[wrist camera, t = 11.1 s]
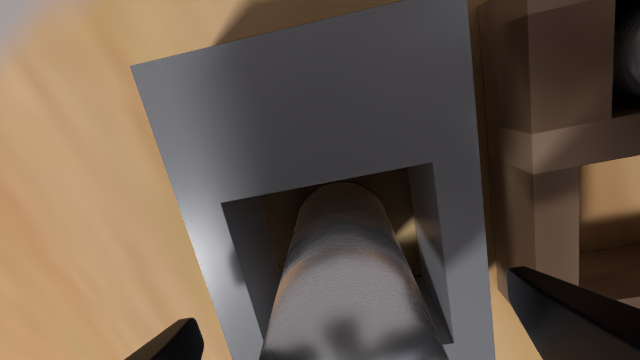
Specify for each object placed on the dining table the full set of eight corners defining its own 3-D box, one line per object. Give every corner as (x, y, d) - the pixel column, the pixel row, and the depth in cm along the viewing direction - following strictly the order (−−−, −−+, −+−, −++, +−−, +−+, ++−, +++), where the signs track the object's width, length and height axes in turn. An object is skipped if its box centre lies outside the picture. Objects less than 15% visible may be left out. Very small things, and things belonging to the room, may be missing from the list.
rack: (422, 18, 12) (465, -15, 8) (453, 296, 15) (496, 368, 11) (191, 72, 13) (129, 66, 9) (267, 324, 16) (246, 400, 12)
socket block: (720, -51, 11) (861, -101, 8) (687, 260, 14) (778, 305, 11) (478, 6, 12) (526, -21, 9) (498, 289, 15) (538, 338, 12)
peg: (379, 174, 13) (442, 290, 6) (393, 257, 14) (462, 449, 7) (287, 191, 14) (231, 322, 6) (307, 272, 15) (280, 468, 7)
